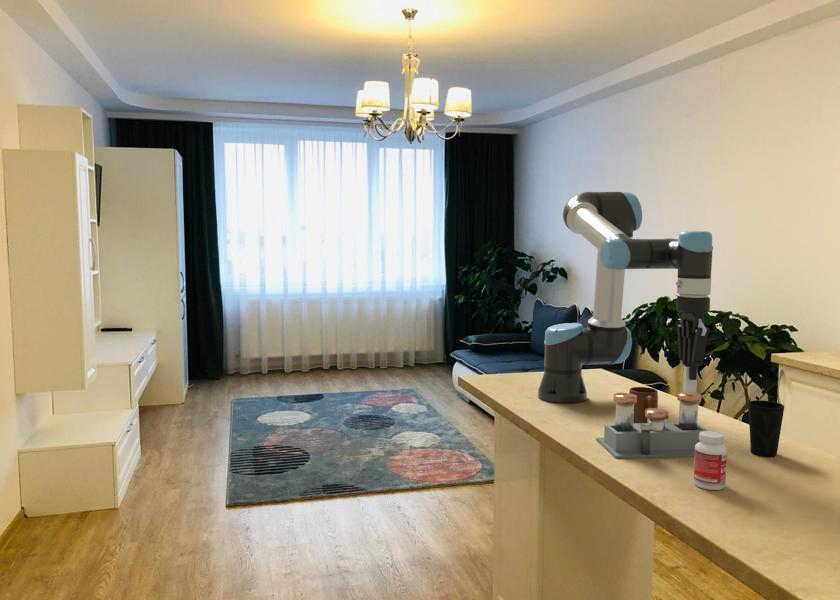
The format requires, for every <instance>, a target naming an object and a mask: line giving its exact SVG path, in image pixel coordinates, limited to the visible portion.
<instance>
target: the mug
mask: <svg viewBox="0 0 840 600" xmlns="http://www.w3.org/2000/svg"><path fill="white" fill-rule="evenodd" d="M628 393H630V394H634V395H636V396H637V403H634V422H633V424H638V423H647V417H645V410H646V409H648V408H658V406H659V404H658V403H659V396H658V395H659V394H658V393H659V391H658V390H657V389H655V388H653V387H648V386H647V387H645V386H635V387H634V386H633V387H630V388H629V392H628Z"/></svg>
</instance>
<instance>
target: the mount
mask: <svg viewBox="0 0 840 600" xmlns="http://www.w3.org/2000/svg"><path fill="white" fill-rule="evenodd" d="M641 424H647V423H638V424H633V431H631V432H622V431H618V430H616V429H615V423H604V433H603V434H604V436H603V437H596V439H595V440H596V442H597V443H598V444H600V445H601V446H602V447H603V448H604V449H605V450H606V451H607V452H608V453H609V454H611V456H612V457H614V459H640V458H641V459H644V458H645V459H646V458H647V459H648V458H653V459H654V458H685V457H686V458H688V457H689V458H691V457H692V458H693V457H694V458H695V445H696V444H697V443H698V442H700V440H699V433H700V432H702V431H709V430H708V429H706V428H705V427H703V426H701V425H699V424H698V423H697V430H683V429H680V428H679V422H666V425H665V431H650V454H649V455H643V454H641V429H640V425H641Z"/></svg>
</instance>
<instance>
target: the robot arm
mask: <svg viewBox="0 0 840 600" xmlns="http://www.w3.org/2000/svg"><path fill="white" fill-rule="evenodd" d="M562 220H563V222H564V225H565V227H567V228H568V229H569V230H570V231H571V232H572V233H574V234H576V235H581V236H582V237H583V238H584V239H586V240H587V241H588V242H589V243H590V244H591V245H592V246H594V247H595V248H596V249H597V254H596V255H597V257H596V267H595V268H596V271H595V285H594V298H593V300H594V301H593V313H592V317H589V319H588V320H587V327H584V326H583V324H582V323H579V322H571V323H569V322H565V323H559V324H554V325H551V326H549V327H547V329H546V330H545V332H544V341H543V344H544V351H543V353H544V358H543V360H544V361H543V362H544V363H543V365H544V366H543V375H542V379H541V381H540V384H539V387H538V390H537V394H538V395H537V397H538V398H539V399H540V400H542V401H546V402H549V403H550V402H551V403H557V404H558V403H559V404H576V403H577V404H578V403H581V402H585V401H587V399H588V397H587V395H588V394H587V393H588V392H587V388H586V384H585V381H584V379H583V373H582V368H583V365H587V366H588V365H615V364H622V363H623V362H625V361H626V360H627V358H628V357H629V356H630V353H631V350H632V346H633V345H632V344H633V338H632V333H631V331H630V329H629V328H628V327H627V323H626V322H625V321H624V319H623V318H622V313H623V312H622V311H623V310H622V309H623V301H624V300H623V299H624V287H625V273H626V271H625V270H658V269H659V270H668V269H669V270H671V269H672V270H677V281H676V283H675V286H676V290H677V291H676V294H677V295H678V296H677V297H676V302H675V303H676V304H675V305H676V307H675V309H676V312H679V313H681V316H680V320H676V321H675V325H676V326H675V327H676V331H677V333H676V334H677V347H678V358H679V361H681V362H682V365H683V375H682V377H683V378H682V379H683V380H682V381H683V382H682V392H685V393H697V390H698V389H697V387H698V367H699V366H703V365H704V358H705V353H706V348H707V342H708V336H709V334H710V331H711V329H710V327H706V326H705V318H704V317H705V316H704V314H707V313H709V312H710V310H711V309H710V308H711V298H710V297H709V296H710V295H711V293H712V292H711V290H712V289H711V288H712V278H711V277H712V268H713V267H712V266H713V250H714V245H713V234H712V233H711V232H710V231H707V230H706V231H700V230H699V231H695V230H694V231H692V230H691V231H688V230H687V231H681V232H680V233H679V235H678V238H648V239H647V238H634V237H633V236H634V232H635V231H638V230H639V229H640V227H641V225H642V222H643V209H642V204H641V202H640V201H639V198H638V197H637V195H635V194H634V193H632V192H626V191H625V192H624V191H584V192H581V193H578V194H576V195H574V196H572V197H571V198H569V199H568V201H567V202H566V204H565V206H564V207H563V211H562Z"/></svg>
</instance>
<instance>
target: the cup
mask: <svg viewBox="0 0 840 600" xmlns="http://www.w3.org/2000/svg"><path fill="white" fill-rule="evenodd" d="M747 405H748V406H747V407H748V408H747V409H748V422H749V423H748V425H749V428H748V429H749V444H750V445H749V446H750V453H751V454H752V455H754V456H757V457H762V458H775V456H776V457H777V455H778V450H779V443H780V437H781V430H782V425H783V424H782V423H783V418H784V411H785V405H784V404H782V403H781V402H776V401H770V400H762V399H761V400H751V401H748V403H747Z"/></svg>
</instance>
